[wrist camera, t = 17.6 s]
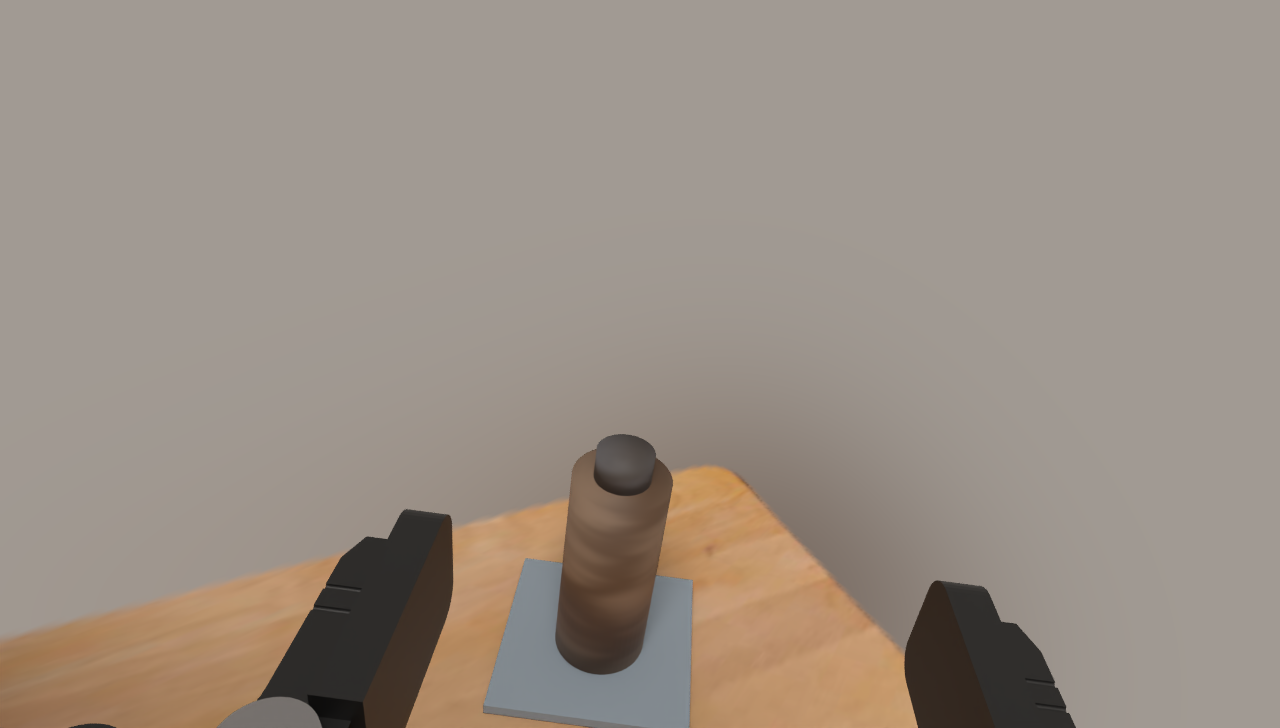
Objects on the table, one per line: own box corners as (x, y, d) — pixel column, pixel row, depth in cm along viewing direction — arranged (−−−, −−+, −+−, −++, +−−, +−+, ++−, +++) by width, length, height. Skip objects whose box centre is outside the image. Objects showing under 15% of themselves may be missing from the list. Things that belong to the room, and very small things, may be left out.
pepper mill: (547, 666, 43) (565, 475, 37) (563, 596, 48) (583, 415, 41) (638, 681, 43) (674, 492, 37) (646, 610, 48) (680, 431, 41)
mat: (483, 712, 41) (483, 705, 41) (525, 564, 51) (525, 558, 51) (687, 740, 41) (689, 733, 41) (691, 586, 51) (692, 580, 50)
